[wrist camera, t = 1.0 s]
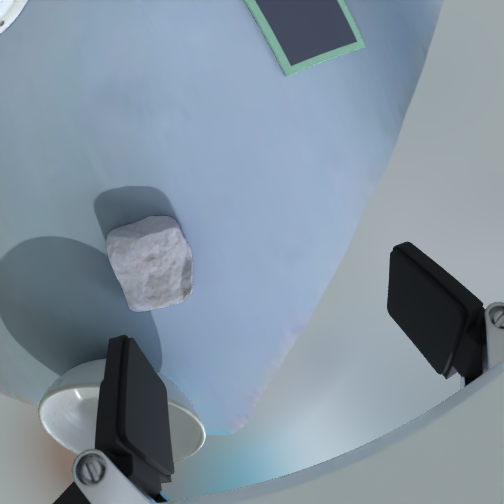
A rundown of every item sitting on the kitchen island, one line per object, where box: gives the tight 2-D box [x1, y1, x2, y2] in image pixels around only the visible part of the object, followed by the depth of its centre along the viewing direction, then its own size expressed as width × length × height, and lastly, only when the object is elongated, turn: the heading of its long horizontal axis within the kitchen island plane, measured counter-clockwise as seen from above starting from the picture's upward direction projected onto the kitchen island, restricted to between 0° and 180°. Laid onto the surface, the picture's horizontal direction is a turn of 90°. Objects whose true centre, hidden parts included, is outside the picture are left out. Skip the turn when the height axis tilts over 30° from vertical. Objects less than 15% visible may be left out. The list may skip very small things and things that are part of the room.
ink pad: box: [244, 0, 366, 77], centre depth 28 cm, size 14×12×1 cm
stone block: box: [106, 216, 194, 312], centre depth 38 cm, size 12×5×10 cm
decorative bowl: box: [38, 358, 206, 463], centre depth 43 cm, size 27×27×12 cm
